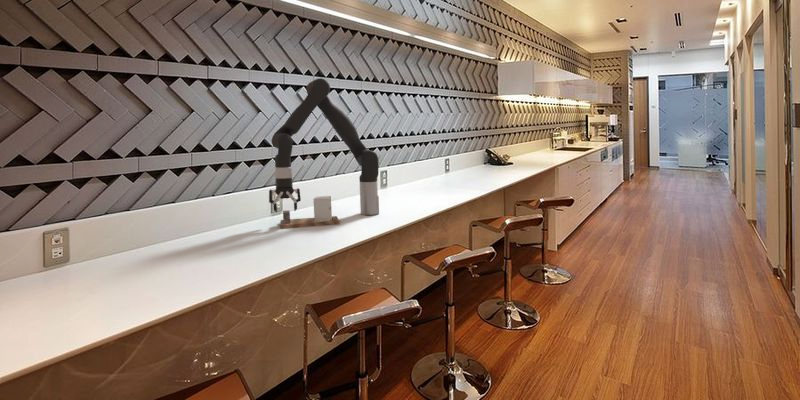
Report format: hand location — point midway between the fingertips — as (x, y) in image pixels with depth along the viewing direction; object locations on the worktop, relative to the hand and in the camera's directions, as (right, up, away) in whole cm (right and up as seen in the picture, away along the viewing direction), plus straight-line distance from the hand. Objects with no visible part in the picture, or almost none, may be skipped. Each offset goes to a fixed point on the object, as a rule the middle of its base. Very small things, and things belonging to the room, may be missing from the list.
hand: (285, 211), depth 207 cm
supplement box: (+17, -6, +5) cm, 19 cm away
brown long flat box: (+11, -6, +4) cm, 13 cm away
